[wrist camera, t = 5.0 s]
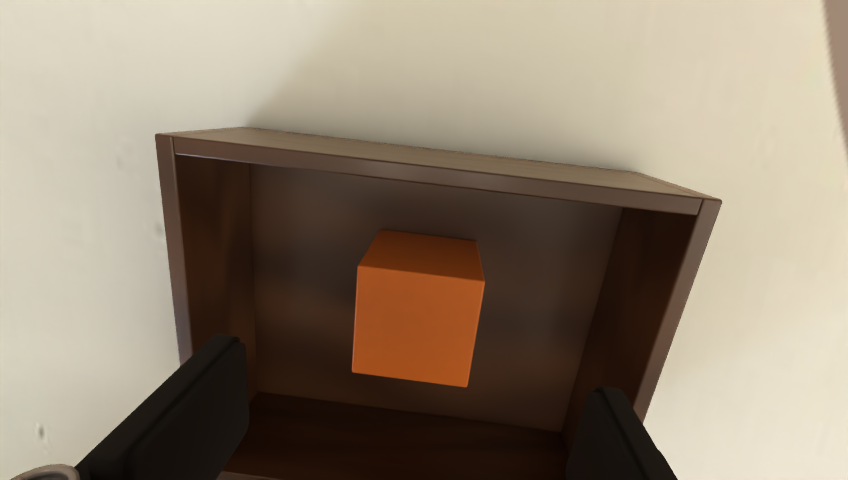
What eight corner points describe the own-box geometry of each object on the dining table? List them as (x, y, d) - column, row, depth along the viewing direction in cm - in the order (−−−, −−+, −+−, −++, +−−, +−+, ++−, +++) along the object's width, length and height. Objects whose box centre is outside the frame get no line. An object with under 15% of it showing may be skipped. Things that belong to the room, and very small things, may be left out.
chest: (241, 126, 18) (153, 133, 13) (640, 172, 17) (724, 199, 12) (252, 391, 22) (191, 477, 17) (566, 433, 22) (603, 536, 17)
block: (379, 228, 18) (356, 265, 14) (477, 240, 18) (485, 281, 14) (372, 315, 20) (351, 373, 15) (463, 326, 20) (467, 388, 15)
